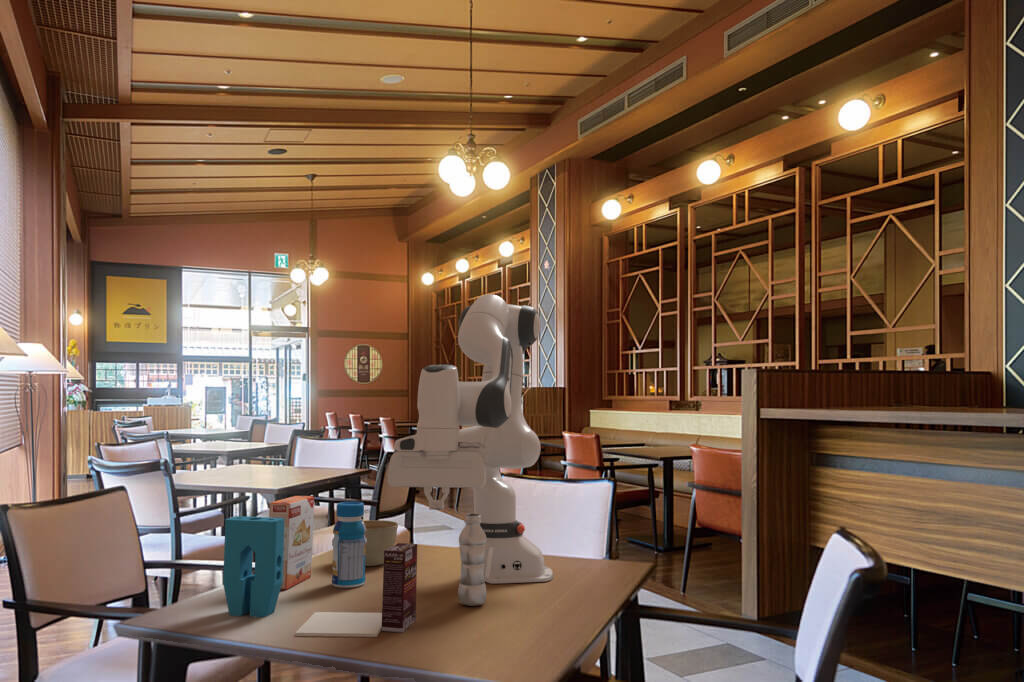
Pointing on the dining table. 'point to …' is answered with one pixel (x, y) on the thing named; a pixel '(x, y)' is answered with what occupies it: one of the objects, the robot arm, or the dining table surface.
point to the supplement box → (399, 587)
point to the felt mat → (342, 624)
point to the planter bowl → (379, 540)
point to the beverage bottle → (349, 546)
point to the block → (238, 579)
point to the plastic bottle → (472, 562)
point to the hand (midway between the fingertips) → (436, 509)
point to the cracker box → (295, 537)
